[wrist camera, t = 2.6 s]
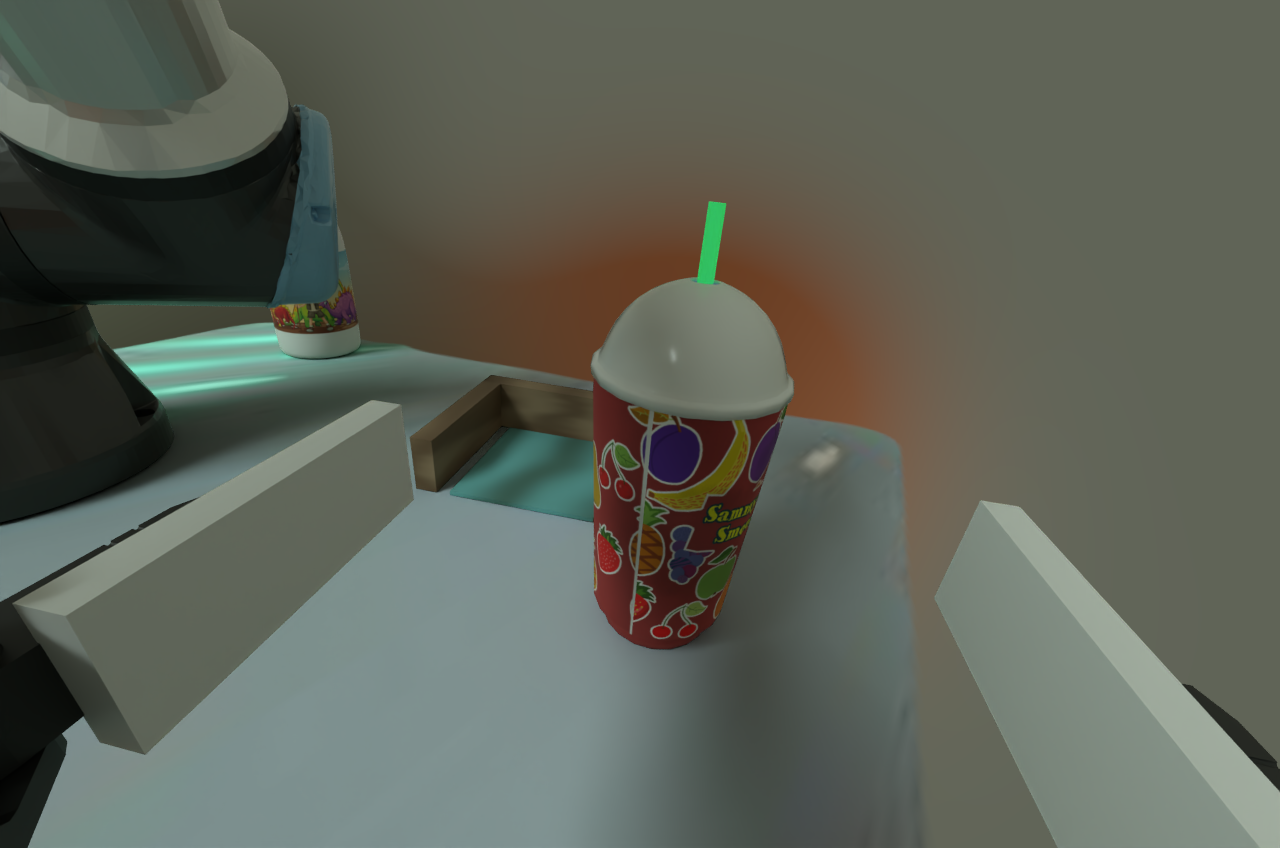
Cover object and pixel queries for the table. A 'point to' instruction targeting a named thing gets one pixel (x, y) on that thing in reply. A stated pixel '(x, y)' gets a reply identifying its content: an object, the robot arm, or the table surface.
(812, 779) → the table surface
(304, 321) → the milk bottle
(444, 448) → the holder
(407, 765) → the table surface
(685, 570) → the smoothie
